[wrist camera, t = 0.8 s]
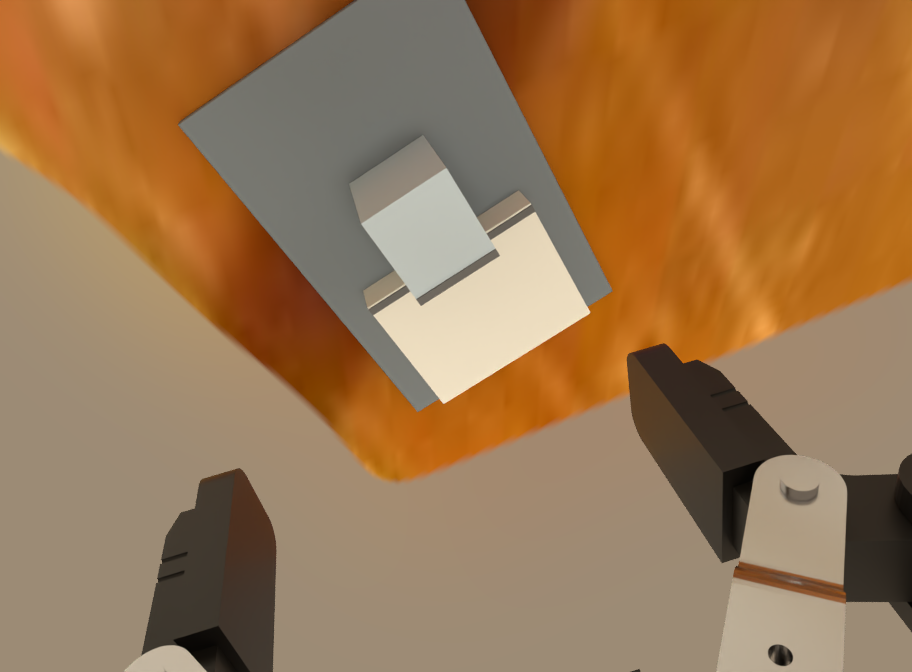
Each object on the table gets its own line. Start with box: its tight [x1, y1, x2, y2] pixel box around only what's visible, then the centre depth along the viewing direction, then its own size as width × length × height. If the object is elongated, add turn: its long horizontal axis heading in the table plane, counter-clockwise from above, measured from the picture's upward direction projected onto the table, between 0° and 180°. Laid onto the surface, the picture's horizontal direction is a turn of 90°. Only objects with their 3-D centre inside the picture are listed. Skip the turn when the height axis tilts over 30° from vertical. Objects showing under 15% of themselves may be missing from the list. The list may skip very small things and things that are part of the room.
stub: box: [349, 135, 500, 306], centre depth 33 cm, size 4×5×6 cm
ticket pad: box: [178, 0, 612, 412], centre depth 36 cm, size 14×21×3 cm, turn 30°
